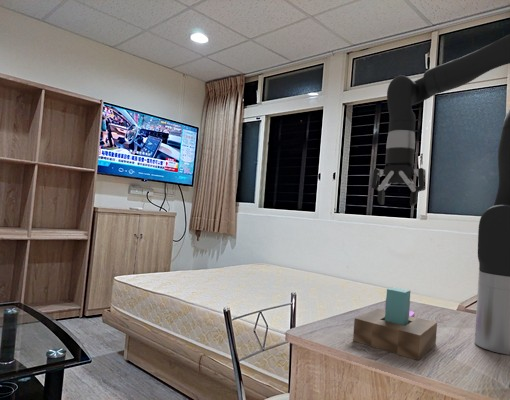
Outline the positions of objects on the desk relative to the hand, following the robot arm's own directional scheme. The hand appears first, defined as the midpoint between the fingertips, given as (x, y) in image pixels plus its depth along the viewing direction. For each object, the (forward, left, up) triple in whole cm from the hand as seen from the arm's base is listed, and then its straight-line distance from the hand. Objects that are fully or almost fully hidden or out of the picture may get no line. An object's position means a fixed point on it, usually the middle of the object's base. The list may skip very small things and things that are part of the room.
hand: (396, 205), depth 105 cm
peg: (-8, +19, -32) cm, 38 cm away
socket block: (-8, +19, -32) cm, 38 cm away
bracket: (-2, -4, -32) cm, 33 cm away
